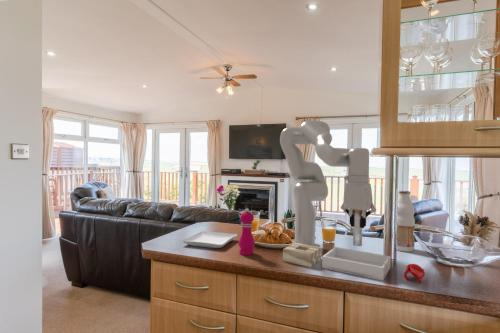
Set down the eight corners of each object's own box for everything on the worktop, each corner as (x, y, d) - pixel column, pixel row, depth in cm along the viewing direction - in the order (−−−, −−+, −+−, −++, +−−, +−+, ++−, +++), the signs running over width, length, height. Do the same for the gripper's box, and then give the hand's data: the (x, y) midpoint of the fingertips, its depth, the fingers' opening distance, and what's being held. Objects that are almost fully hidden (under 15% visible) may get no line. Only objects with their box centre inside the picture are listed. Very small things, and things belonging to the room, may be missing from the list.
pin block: (295, 254, 135) (295, 242, 134) (321, 259, 128) (321, 247, 128) (282, 261, 124) (283, 249, 124) (310, 267, 118) (310, 254, 118)
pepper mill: (252, 256, 130) (253, 210, 130) (236, 255, 132) (237, 209, 131) (255, 251, 137) (256, 207, 137) (240, 250, 139) (241, 206, 138)
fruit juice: (396, 251, 141) (398, 191, 140) (389, 246, 150) (390, 189, 150) (417, 252, 140) (419, 192, 140) (409, 247, 149) (410, 190, 149)
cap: (423, 277, 101) (429, 265, 104) (405, 267, 104) (411, 256, 107) (417, 290, 105) (423, 277, 109) (400, 280, 109) (406, 268, 112)
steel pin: (352, 242, 121) (353, 205, 121) (365, 244, 118) (365, 206, 118) (349, 245, 117) (350, 206, 117) (362, 247, 114) (363, 207, 114)
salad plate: (181, 246, 144) (181, 239, 144) (201, 236, 164) (201, 230, 164) (222, 251, 137) (222, 244, 137) (238, 240, 158) (238, 234, 158)
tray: (334, 257, 131) (335, 246, 131) (390, 267, 119) (390, 256, 119) (322, 267, 117) (322, 256, 117) (383, 280, 105) (383, 267, 105)
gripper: (334, 179, 119) (333, 226, 119) (379, 181, 110) (378, 231, 110) (340, 178, 125) (339, 223, 125) (382, 180, 116) (382, 228, 116)
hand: (357, 226), depth 118 cm, fingers closed on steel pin, 3 cm apart
